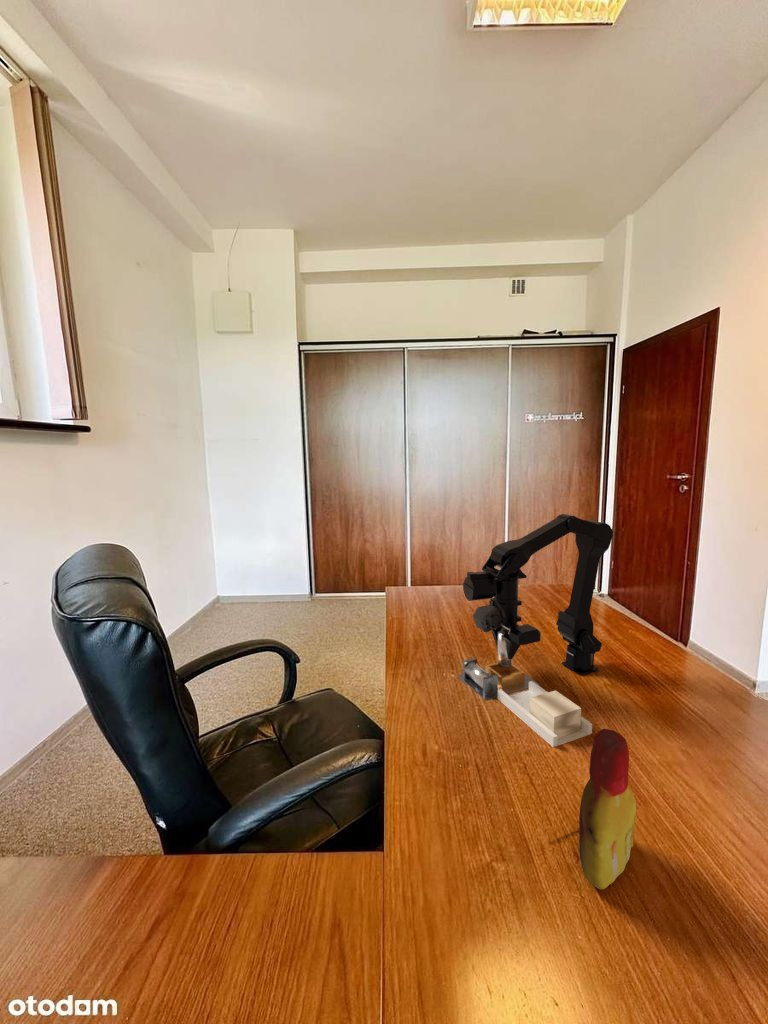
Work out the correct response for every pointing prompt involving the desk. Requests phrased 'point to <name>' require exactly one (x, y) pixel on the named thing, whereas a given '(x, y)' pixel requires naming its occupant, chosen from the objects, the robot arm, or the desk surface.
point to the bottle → (606, 811)
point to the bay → (535, 723)
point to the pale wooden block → (556, 713)
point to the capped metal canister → (503, 650)
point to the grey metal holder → (493, 679)
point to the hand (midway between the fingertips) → (505, 655)
